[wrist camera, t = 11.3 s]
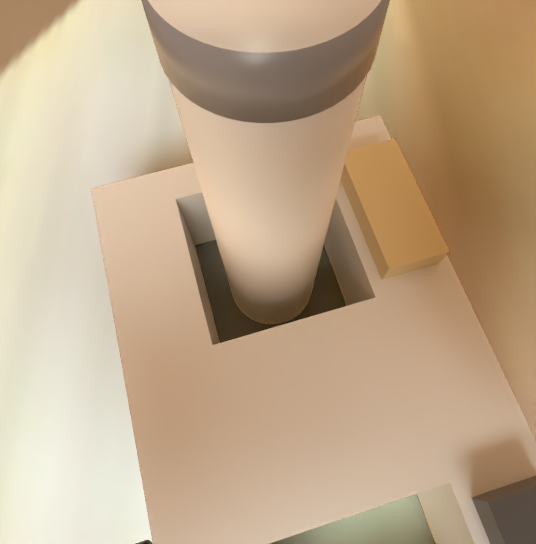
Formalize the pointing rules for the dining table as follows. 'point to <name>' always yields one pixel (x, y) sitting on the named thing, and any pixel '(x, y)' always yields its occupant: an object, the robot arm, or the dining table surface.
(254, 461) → the socket board
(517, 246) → the dining table surface
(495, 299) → the dining table surface
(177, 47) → the plug
